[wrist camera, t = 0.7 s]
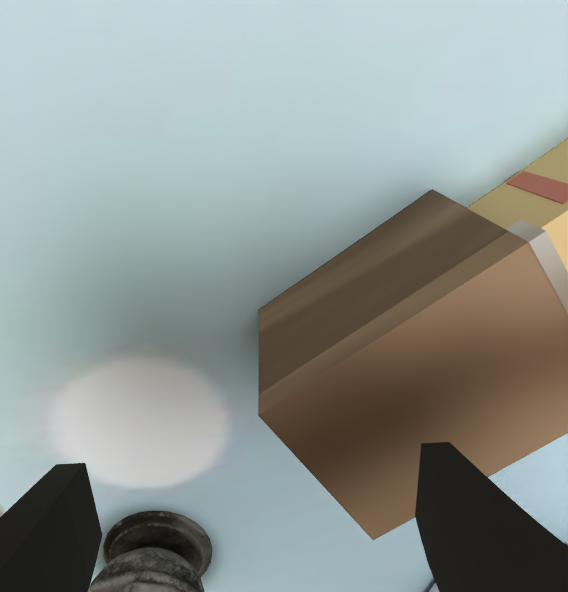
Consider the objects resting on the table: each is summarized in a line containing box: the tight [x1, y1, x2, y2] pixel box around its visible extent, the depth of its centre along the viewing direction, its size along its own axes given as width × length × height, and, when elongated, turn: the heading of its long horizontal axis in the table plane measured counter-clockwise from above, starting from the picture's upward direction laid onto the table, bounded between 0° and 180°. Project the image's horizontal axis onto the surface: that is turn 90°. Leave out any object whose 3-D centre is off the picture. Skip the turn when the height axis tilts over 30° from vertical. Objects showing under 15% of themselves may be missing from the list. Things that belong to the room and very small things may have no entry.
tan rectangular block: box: [467, 138, 568, 272], centre depth 17 cm, size 3×12×4 cm, turn 127°
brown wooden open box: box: [259, 189, 568, 540], centre depth 16 cm, size 6×8×7 cm
